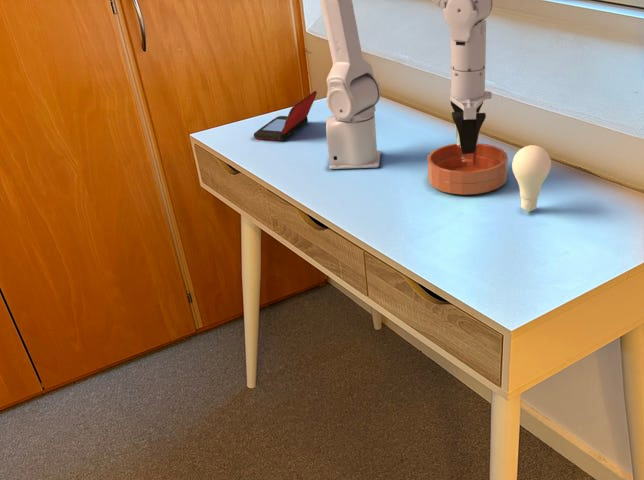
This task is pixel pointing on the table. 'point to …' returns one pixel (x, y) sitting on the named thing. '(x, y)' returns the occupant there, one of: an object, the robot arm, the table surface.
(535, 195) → the lightbulb
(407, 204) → the table surface
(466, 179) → the bowl
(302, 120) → the handheld game console
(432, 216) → the table surface
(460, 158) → the milkshake
